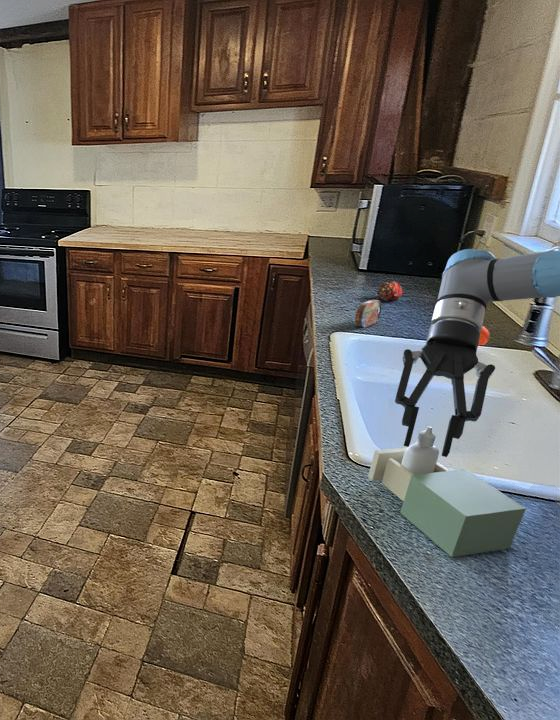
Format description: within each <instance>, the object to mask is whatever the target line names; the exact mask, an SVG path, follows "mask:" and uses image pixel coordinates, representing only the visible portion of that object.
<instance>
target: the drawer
mask: <svg viewBox="0 0 560 720" xmlns="http://www.w3.org/2000/svg"><path fill="white" fill-rule="evenodd" d="M407 448H408V447H406V446H402V447H394V448H393V447H392V448H385V449H375V450H374V452H373V455H372V461H371V464H370V468H369V472H368V475H367V478H368V479H370V480H371V481H372V482H374V481H381V484H382V485H383V486H384V487H385V488H387V489H388V490H389V491H390V492H391V493H393V494H394V495H395V496H396V497H397V498H399V499H400V500H401V501H402V502H404V499H405V495H406V492H407V488H408V485H409V482H410V478H411V475H414V474H412V473H411V472H410V471H408V470H407V469H406V468H404V467H403V466H402V465H401V463H402V460H403V456H404V453H405V451H406V449H407ZM444 471H451V470H450V469H449V468H448V467H446V466H445V465H443V464H441V463H440V462H439V461H437V462H436V465H435V468H434V472H433V473H435V472H444Z"/></svg>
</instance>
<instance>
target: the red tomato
mask: <svg viewBox="0 0 560 720" xmlns="http://www.w3.org/2000/svg"><path fill="white" fill-rule="evenodd" d="M489 340H490V332H489V330H488V329H487V328H486V327H485V326H483V325H482V329H481V331H480V338H479V343H478V345H483V346H485V345H486V344H487V343H488V342H489Z"/></svg>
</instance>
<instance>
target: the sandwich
mask: <svg viewBox="0 0 560 720" xmlns="http://www.w3.org/2000/svg"><path fill="white" fill-rule="evenodd" d="M381 312H382V302H381V300H378V299H369V300H367V301H365V302H362V303H360V304H359V305H358V306H357V308H356V311H355V319H354V325H355V326H356V327H360V328H364V329H365V328H368V327H369V326H372V325H374V324H376V323H377V322H378V320H379V318H380V317H381V316H380V315H381Z"/></svg>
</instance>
